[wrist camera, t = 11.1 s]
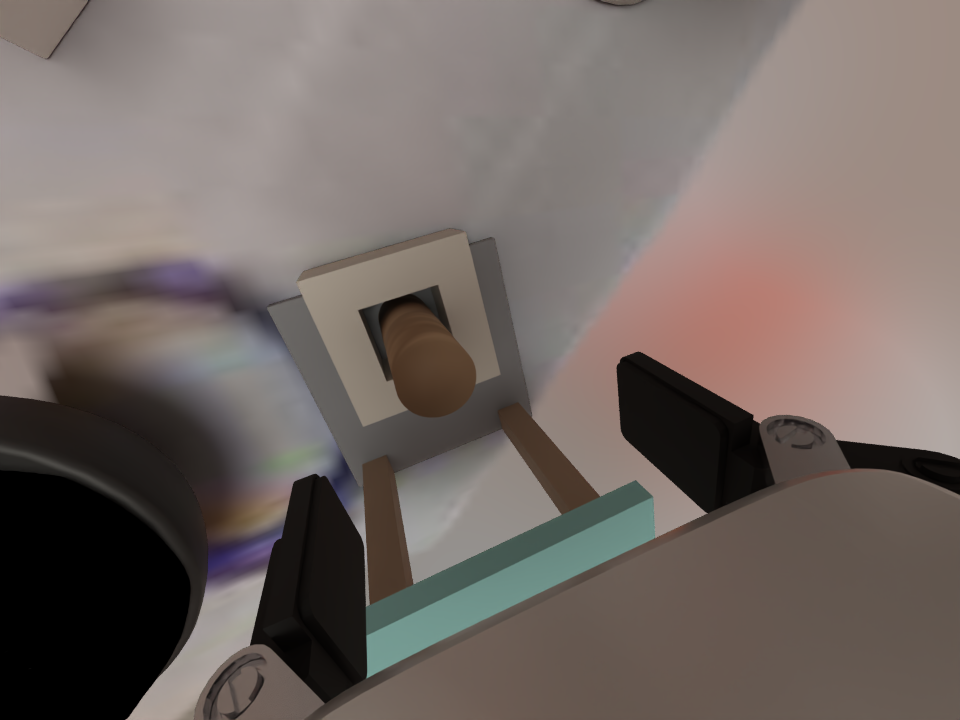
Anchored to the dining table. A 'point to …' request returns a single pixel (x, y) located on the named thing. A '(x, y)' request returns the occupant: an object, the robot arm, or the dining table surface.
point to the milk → (37, 22)
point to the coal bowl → (90, 564)
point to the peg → (425, 359)
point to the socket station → (442, 437)
